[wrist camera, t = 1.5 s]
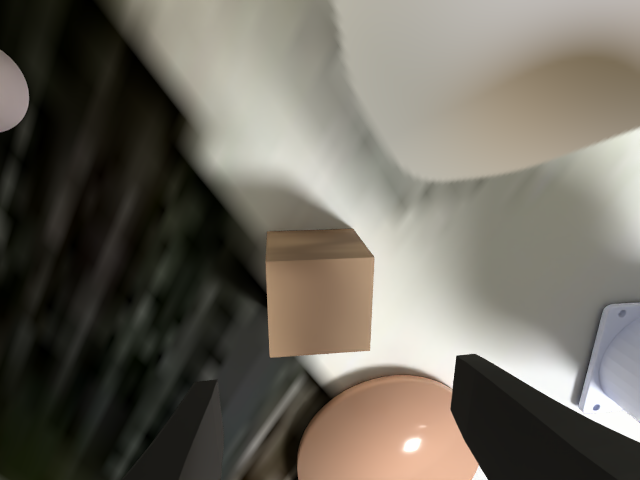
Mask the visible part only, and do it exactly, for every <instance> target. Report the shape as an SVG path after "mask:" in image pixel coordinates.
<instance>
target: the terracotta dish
mask: <svg viewBox="0 0 640 480" xmlns="http://www.w3.org/2000/svg"><path fill="white" fill-rule="evenodd" d="M451 399H452V389H451V388H449V387H447V386H446V385H444V384H442V383H440V382H437V381H435V380H432V379H429V378H424V377H420V376H411V375H393V376H386V377H380V378H376V379H372V380H368V381H366V382H363V383H360V384H357V385H355V386H353V387H351V388H349V389H347V390H345V391H343V392H342V393H340V394H339V395H337V396H336V397H334V398H333V399H332V400H330V401H329V402H328V403H327V404H325V405H324V406H323V407H322V408H321V409H320V410H319V411H318V412H317V413H316V415H315V416H314V417H313V419H312V420H311V421H310V423H309V424H308V426H307V428H306V429H305V431H304V433H303V436H302V438H301V441H300V444H299V448H298V452H297V471H298V480H472V478H473V476H474V474H475V473H476V470H477V468H478V465H479V464H478V462H477V461H476V459H475V458H474V456H473V454H472V453H471V451H470V449H469V448H468V446H467V444H466V443H465V441H464V439H463V437H462V434H461V432H460V430H459V428H458V426H457V424H456V422H455V419H454V417H453V415H452V413H451V410H450V407H451Z"/></svg>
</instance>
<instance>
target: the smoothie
mask: <svg viewBox="0 0 640 480" xmlns="http://www.w3.org/2000/svg"><path fill="white" fill-rule="evenodd" d="M28 105H29V91H28V86H27V83H26V80H25V78H24V76H23V74H22V72H21V70H20V69H19V67H18V66H17V65H16V63H15V62H14V61H13V60H12V59H11V58H10V57H9V56H8V55H7V54H5V53H4V52H3V51H1V50H0V132H3V131H7V130H9V129H11V128H13V127H15V126H16V125H17V124H18V123H19V122H20V121H21V120H22V119H23V117H24V116H25V114H26V112H27V109H28Z"/></svg>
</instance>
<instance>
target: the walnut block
mask: <svg viewBox="0 0 640 480" xmlns="http://www.w3.org/2000/svg"><path fill="white" fill-rule="evenodd" d="M373 275H374V256H373V255H372V254H371V252H370V251H369V250H368V248H367V247H366V245H365V244H364V243H363V241H362V240H361V239H360V237H359V236H358V235H357V233H356V232H355V231H354V229H330V230H299V231H268V232H267V244H266V283H267V305H268V327H269V349H270V358H271V357H285V356H300V355H314V354H329V353H343V352H357V351H370V339H371V318H372V297H373Z"/></svg>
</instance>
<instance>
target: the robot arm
mask: <svg viewBox="0 0 640 480" xmlns="http://www.w3.org/2000/svg"><path fill="white" fill-rule="evenodd" d="M579 409H580V410H581V411H582V412H583V413H585V414H590V413H600V412H611V411H621V410H625V411H626V412H627V413H628V414H630V415H631V416H632V417H633V418H634V419H636V420H637V421H638V422H639V423H640V302H638V303H621V304H610V305H608V306H606V307H605V308H604V310H603V313H602V316H601V320H600V324H599V328H598V332H597V336H596V340H595V344H594V348H593V352H592V355H591V359H590V363H589V367H588V371H587V375H586V379H585V383H584V387H583V391H582V394H581V398H580V402H579ZM450 410H451V413H452V415H453V417H454V419H455V422H456V424H457V426H458V428H459V430H460V432H461V434H462V437H463V439H464V441H465V443H466V444H467V446H468V448H469V449H470V451H471V453H472V454H473V456H474V458H475V459H476V461H477V462H478V464H479V466H480V467H481V469H482V471H483V472H484V474H485V475H486V477H487V479H488V480H640V443H639V442H637V441H635V440H633V439H630V438H628V437H626V436H624V435H622V434H620V433H618V432H615V431H613V430H611V429H609V428H607V427H605V426H603V425H601V424H599V423H597V422H595V421H593V420H591V419H589V418H587V417H585V416H583V415H581V414H579V413H577V412H575V411H574V410H572V409H570V408H568V407H566V406H564V405H562V404H561V403H559V402H557V401H555V400H553V399H552V398H550V397H548V396H546V395H545V394H543V393H541V392H539V391H538V390H536V389H534V388H533V387H531V386H529V385H528V384H526V383H524V382H523V381H521V380H519V379H518V378H516V377H514V376H513V375H511V374H509V373H508V372H506V371H504V370H503V369H501V368H499V367H498V366H496V365H494V364H493V363H491V362H489V361H487V360H486V359H484V358H482V357H480V356H478V355H476V354H469V355H459V356H456V364H455V373H454V381H453V390H452V399H451V407H450ZM223 446H224V431H223V422H222V414H221V405H220V397H219V388H218V380H209V381H199V382H195V383H194V384H193V385H192V386H191V388H190V389H189V391H188V392H187V394H186V395H185V397H184V399H183V400H182V402H181V403H180V404H179V406H178V407H177V409H176V410H175V412H174V413H173V415H172V416H171V418H170V419H169V420H168V422H167V423H166V424H165V426H164V427H163V428H162V430H161V431H160V433H159V434H158V435H157V437H156V438H155V439H154V441H153V442H152V443H151V445H150V446H149V447H148V448H147V450H146V451H145V452H144V453H143V455H142V456H141V457H140V458H139V459H138V461H137V462H136V463H135V464H134V466H133V467H132V468H131V469H130V470H129V472H128V473H127V474H126V475H125V476H124V478H123V479H122V480H220V479H221V472H222V460H223Z"/></svg>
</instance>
